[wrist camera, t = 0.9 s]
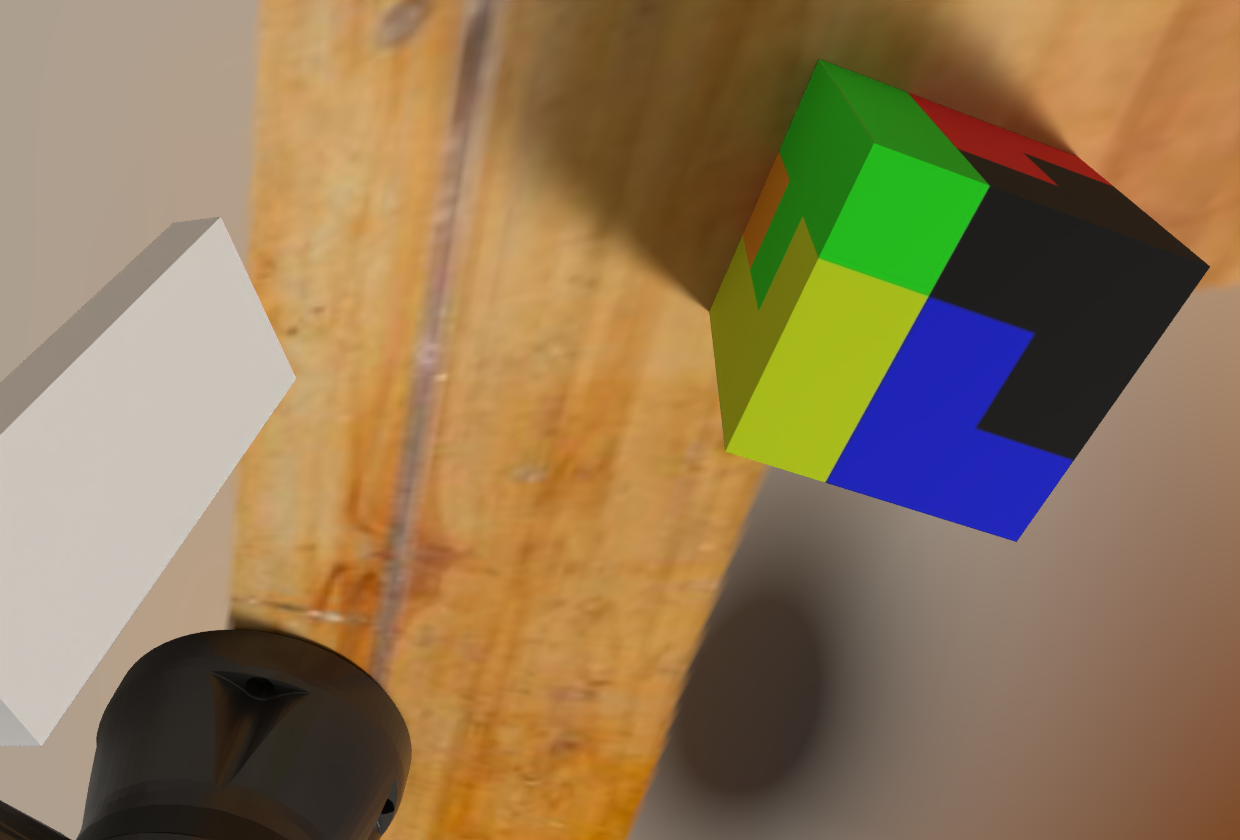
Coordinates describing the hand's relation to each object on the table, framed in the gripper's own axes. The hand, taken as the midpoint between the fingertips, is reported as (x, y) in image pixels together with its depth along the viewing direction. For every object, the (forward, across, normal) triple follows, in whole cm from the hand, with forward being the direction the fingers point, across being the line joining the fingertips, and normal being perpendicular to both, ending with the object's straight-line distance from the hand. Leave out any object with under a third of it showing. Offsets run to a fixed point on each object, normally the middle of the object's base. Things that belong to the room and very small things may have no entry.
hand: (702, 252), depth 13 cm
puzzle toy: (+24, -3, +12) cm, 27 cm away
